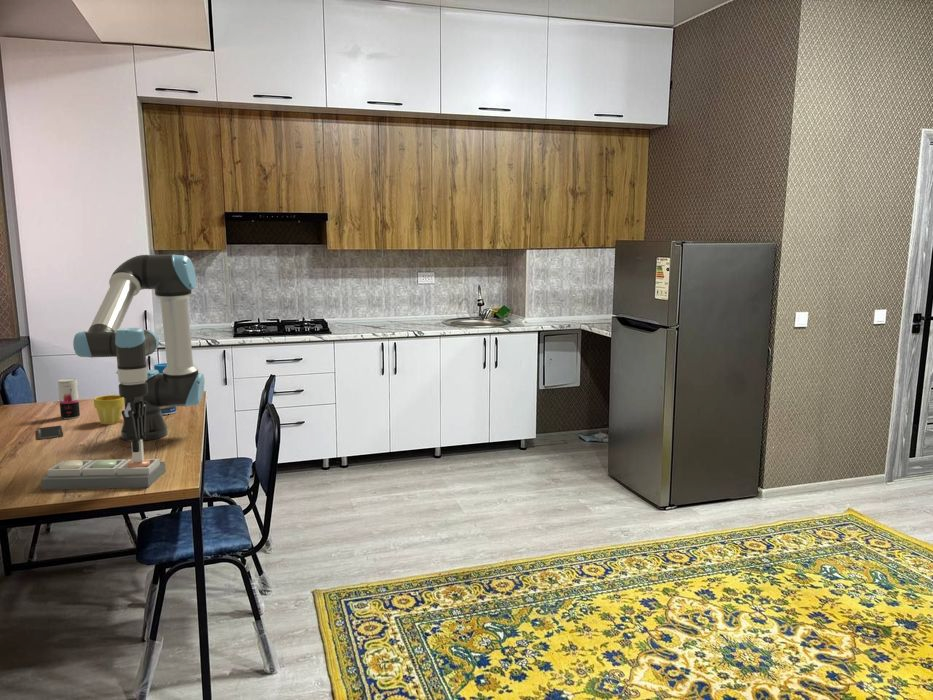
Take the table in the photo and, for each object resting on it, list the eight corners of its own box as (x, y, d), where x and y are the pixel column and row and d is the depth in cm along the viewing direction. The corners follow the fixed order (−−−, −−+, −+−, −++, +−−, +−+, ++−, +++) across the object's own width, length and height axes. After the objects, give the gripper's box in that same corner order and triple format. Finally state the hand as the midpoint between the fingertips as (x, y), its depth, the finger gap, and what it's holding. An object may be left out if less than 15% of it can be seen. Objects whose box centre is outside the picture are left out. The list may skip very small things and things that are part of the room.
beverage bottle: (180, 410, 288) (177, 362, 285) (172, 415, 279) (169, 366, 276) (159, 410, 287) (156, 362, 284) (151, 415, 279) (148, 366, 276)
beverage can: (72, 419, 272) (68, 381, 270) (57, 418, 273) (53, 381, 271) (83, 415, 278) (80, 378, 276) (69, 414, 279) (65, 378, 277)
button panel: (66, 473, 209) (64, 457, 208) (165, 471, 211) (164, 456, 211) (41, 489, 195) (40, 473, 195) (148, 487, 198) (147, 471, 197)
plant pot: (130, 418, 274) (128, 394, 272) (118, 425, 263) (116, 400, 262) (103, 418, 273) (101, 394, 272) (90, 425, 263) (88, 400, 262)
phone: (37, 437, 244) (37, 428, 256) (37, 441, 244) (37, 431, 257) (63, 434, 248) (61, 425, 261) (63, 437, 248) (61, 428, 261)
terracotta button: (132, 465, 206) (132, 459, 206) (153, 464, 207) (152, 458, 207) (124, 471, 200) (123, 465, 200) (145, 471, 201) (145, 465, 201)
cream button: (65, 466, 205) (65, 460, 205) (86, 465, 205) (86, 460, 205) (55, 472, 199) (54, 466, 199) (77, 472, 199) (76, 466, 199)
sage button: (99, 465, 206) (98, 459, 205) (120, 465, 206) (119, 459, 206) (89, 472, 200) (89, 466, 199) (111, 471, 200) (111, 465, 200)
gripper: (128, 378, 206) (133, 455, 209) (109, 386, 193) (115, 468, 197) (154, 377, 206) (159, 454, 210) (137, 386, 194) (143, 468, 197)
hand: (138, 461), depth 203 cm, fingers closed
